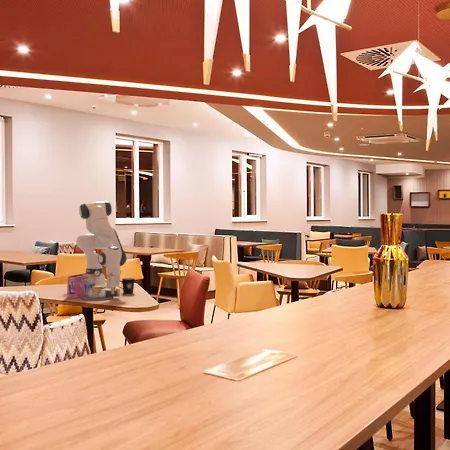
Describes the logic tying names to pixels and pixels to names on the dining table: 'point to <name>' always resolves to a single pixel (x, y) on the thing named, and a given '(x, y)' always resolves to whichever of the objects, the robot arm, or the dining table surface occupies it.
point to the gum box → (80, 285)
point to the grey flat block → (104, 293)
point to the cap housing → (96, 289)
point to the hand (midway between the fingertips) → (113, 293)
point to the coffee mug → (127, 285)
